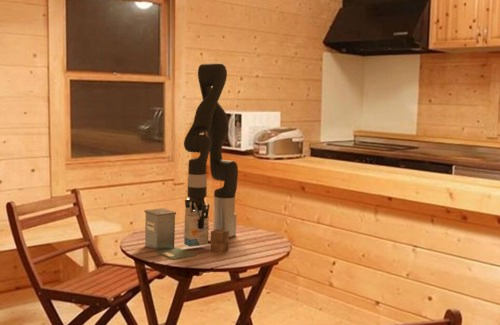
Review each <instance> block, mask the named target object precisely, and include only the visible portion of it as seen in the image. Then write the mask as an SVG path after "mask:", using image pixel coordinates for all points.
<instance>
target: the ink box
mask: <svg viewBox="0 0 500 325" xmlns="http://www.w3.org/2000/svg"><path fill="white" fill-rule="evenodd" d="M192 210H193V209H192ZM201 211H202V210H201ZM184 212H185V213H184V231H183V232H184V234H183V235H184V236H183V237H184V238H183V239H184V240H183V241H184V242H183V244H184V245H185V246H187V247H190V248H191V247H199V246H205V245H209V224H210V222H209V219H210V215H208V218H206V219H204V228H203V229H198V220H199V219H198V215H197V214H196V211H195V212H192V213H191V212H190V208H186V207H185V210H184ZM199 212H200V211H199ZM204 215H205V214H204ZM200 216H201V214H200Z"/></svg>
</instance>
